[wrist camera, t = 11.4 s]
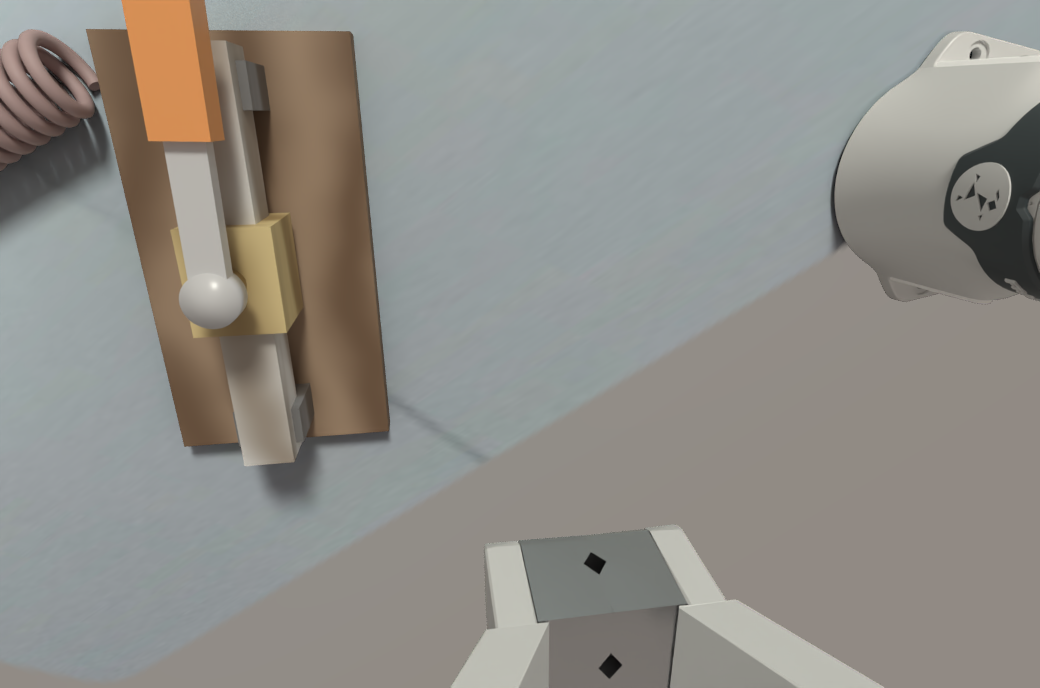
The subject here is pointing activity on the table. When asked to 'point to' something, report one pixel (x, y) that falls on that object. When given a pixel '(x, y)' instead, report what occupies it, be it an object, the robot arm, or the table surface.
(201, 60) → the valve lever
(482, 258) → the table surface
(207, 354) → the valve stand
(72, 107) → the coil
